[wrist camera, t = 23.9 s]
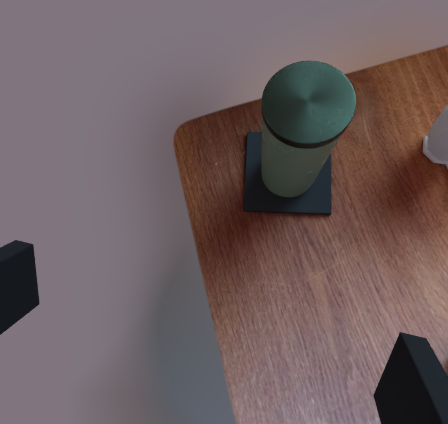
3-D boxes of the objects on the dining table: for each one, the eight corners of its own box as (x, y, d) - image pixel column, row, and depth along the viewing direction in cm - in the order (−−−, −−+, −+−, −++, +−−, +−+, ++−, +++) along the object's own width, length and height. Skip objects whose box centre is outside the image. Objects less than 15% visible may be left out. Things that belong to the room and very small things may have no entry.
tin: (259, 197, 36) (259, 143, 22) (261, 145, 38) (263, 61, 23) (316, 199, 35) (357, 144, 21) (316, 145, 37) (355, 59, 22)
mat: (243, 211, 37) (243, 210, 36) (247, 133, 39) (247, 131, 38) (330, 214, 35) (331, 213, 35) (329, 134, 37) (330, 132, 37)
